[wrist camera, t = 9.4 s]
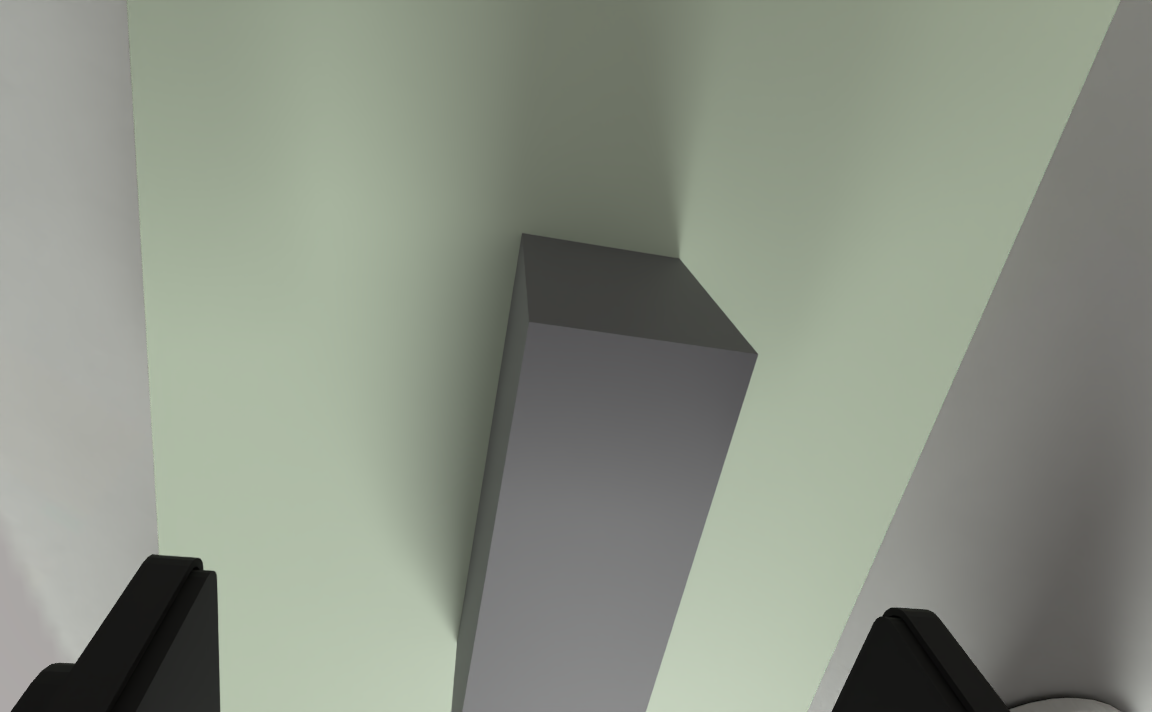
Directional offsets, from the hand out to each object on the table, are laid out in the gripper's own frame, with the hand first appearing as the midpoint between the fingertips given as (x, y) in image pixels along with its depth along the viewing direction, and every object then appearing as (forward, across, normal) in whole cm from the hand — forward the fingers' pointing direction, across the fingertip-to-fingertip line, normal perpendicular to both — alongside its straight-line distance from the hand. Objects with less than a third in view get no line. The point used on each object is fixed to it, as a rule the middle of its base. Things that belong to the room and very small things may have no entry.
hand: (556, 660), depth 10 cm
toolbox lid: (+7, 0, 0) cm, 7 cm away
